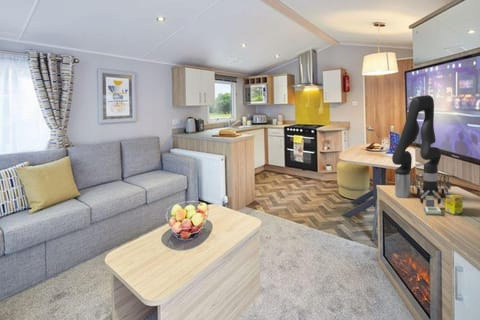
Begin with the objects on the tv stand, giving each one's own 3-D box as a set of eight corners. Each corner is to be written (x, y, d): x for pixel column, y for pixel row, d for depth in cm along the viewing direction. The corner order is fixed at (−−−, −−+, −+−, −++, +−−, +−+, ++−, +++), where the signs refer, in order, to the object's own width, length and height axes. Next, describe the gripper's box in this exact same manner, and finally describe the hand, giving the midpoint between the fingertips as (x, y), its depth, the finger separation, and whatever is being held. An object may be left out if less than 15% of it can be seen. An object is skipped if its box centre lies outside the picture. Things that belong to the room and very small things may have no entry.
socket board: (423, 209, 170) (423, 205, 169) (439, 210, 166) (439, 206, 165) (425, 215, 162) (426, 211, 162) (443, 216, 158) (443, 212, 158)
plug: (425, 207, 173) (425, 196, 172) (432, 207, 171) (433, 196, 170) (426, 209, 170) (426, 198, 168) (434, 209, 168) (434, 198, 166)
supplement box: (454, 215, 157) (455, 198, 155) (444, 212, 163) (445, 195, 161) (462, 213, 158) (463, 196, 156) (452, 210, 164) (453, 193, 162)
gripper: (443, 177, 167) (442, 202, 170) (416, 177, 173) (416, 201, 176) (446, 181, 160) (445, 206, 163) (417, 180, 166) (417, 205, 169)
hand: (430, 203), depth 169 cm, fingers open, 8 cm apart
